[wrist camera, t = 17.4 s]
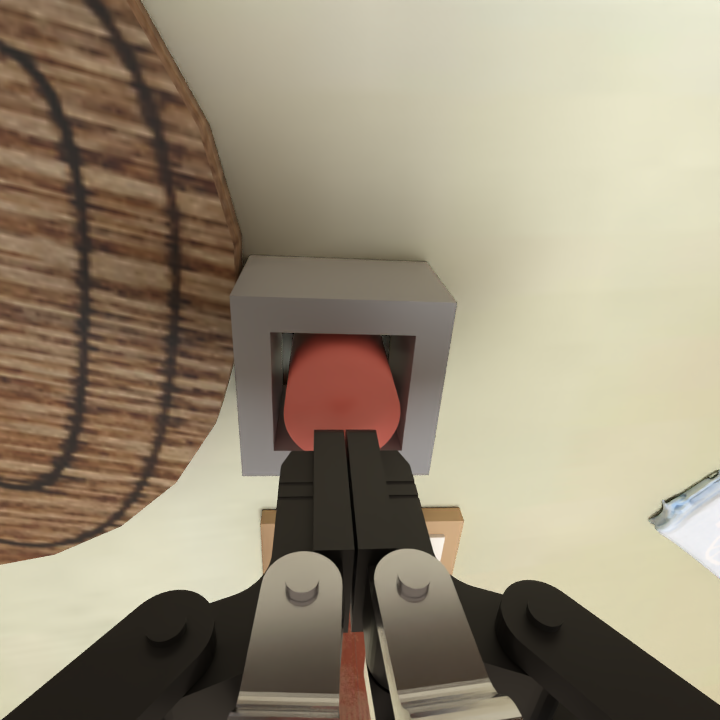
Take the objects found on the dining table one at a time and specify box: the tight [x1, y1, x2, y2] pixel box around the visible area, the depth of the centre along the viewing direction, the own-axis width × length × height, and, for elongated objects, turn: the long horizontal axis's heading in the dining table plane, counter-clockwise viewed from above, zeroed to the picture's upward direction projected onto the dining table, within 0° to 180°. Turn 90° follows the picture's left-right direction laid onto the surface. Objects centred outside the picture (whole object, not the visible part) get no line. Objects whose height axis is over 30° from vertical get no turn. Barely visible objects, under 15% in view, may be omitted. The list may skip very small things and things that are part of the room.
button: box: [284, 333, 400, 451], centre depth 15 cm, size 3×3×4 cm
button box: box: [230, 255, 457, 476], centre depth 15 cm, size 6×6×4 cm
